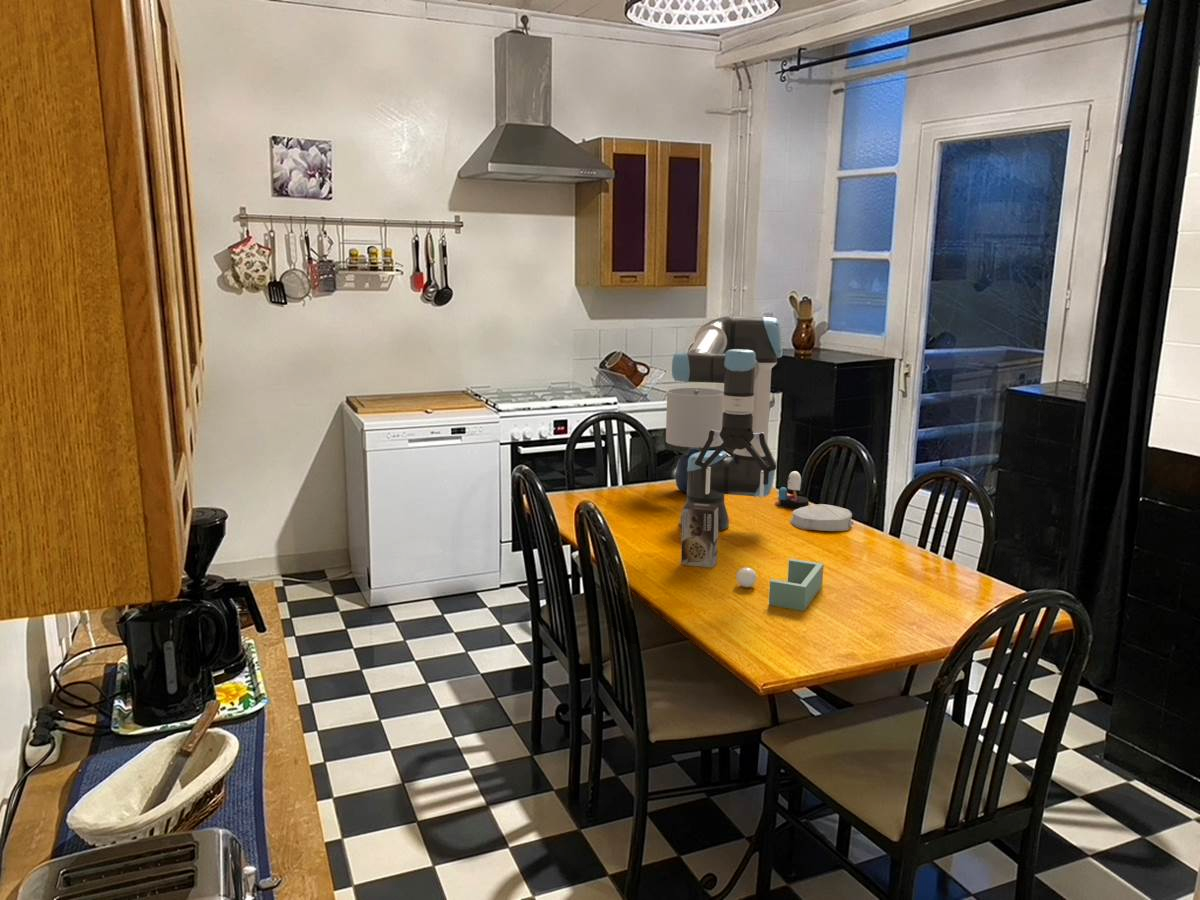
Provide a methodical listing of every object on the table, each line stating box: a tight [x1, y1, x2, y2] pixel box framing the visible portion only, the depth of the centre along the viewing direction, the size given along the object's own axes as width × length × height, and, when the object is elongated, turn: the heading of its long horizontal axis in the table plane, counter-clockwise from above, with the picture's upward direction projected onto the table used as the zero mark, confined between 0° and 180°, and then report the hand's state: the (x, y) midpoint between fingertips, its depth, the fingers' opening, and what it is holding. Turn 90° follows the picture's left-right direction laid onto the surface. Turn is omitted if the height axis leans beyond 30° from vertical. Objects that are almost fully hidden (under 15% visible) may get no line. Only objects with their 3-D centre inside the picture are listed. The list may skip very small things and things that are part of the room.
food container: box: [789, 503, 855, 532], centre depth 284 cm, size 20×20×7 cm
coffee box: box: [680, 502, 719, 569], centre depth 244 cm, size 9×6×16 cm
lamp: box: [665, 387, 725, 494], centre depth 319 cm, size 20×20×37 cm
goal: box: [768, 558, 824, 612], centre depth 222 cm, size 8×19×6 cm, turn 154°
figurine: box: [774, 470, 810, 510], centre depth 305 cm, size 10×11×12 cm
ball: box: [736, 567, 758, 588], centre depth 227 cm, size 5×5×5 cm
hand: (734, 495), depth 228 cm, fingers open, 13 cm apart
